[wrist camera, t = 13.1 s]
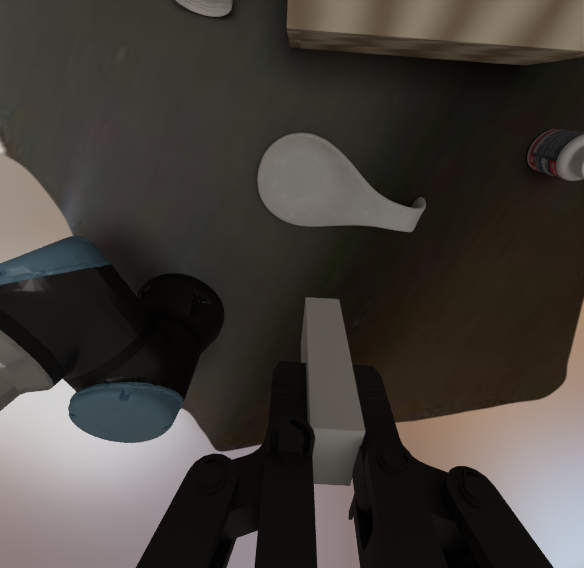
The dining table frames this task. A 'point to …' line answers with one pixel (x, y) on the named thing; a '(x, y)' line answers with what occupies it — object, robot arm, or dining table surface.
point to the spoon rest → (325, 188)
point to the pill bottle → (558, 154)
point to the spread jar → (208, 7)
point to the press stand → (442, 28)
